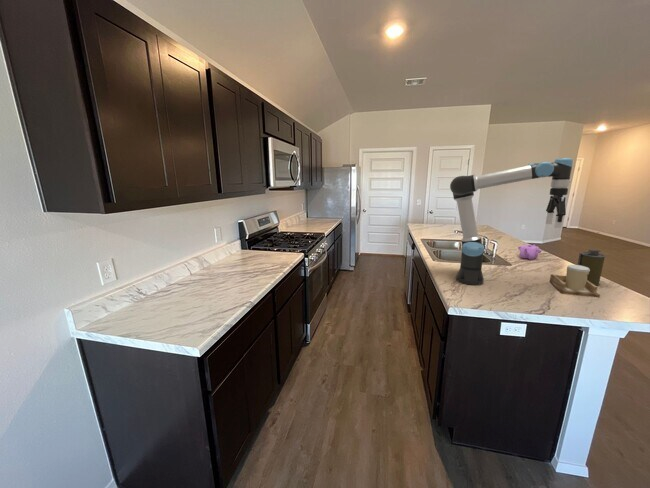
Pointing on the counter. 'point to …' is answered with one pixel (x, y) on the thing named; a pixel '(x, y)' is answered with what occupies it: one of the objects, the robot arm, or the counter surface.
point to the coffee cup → (576, 277)
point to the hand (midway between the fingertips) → (552, 226)
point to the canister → (592, 264)
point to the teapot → (529, 251)
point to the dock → (560, 285)
